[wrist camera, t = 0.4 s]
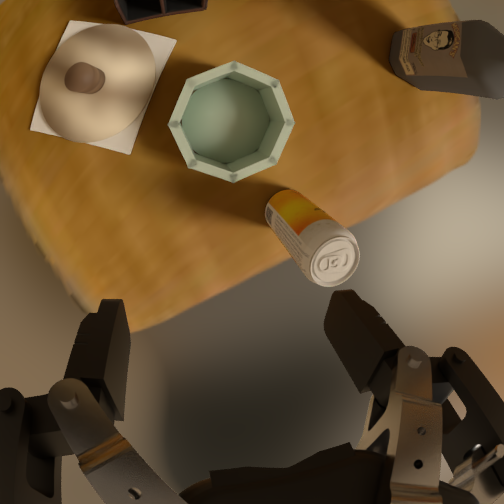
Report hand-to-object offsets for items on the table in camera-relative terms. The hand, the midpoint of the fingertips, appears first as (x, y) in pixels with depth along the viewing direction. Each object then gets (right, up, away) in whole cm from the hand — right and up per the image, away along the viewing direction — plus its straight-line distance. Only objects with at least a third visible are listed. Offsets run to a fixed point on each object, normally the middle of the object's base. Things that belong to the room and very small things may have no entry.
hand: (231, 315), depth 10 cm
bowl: (-2, +18, +21) cm, 28 cm away
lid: (-17, +22, +14) cm, 32 cm away
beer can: (+5, +8, +28) cm, 30 cm away
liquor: (+25, +32, +21) cm, 46 cm away
